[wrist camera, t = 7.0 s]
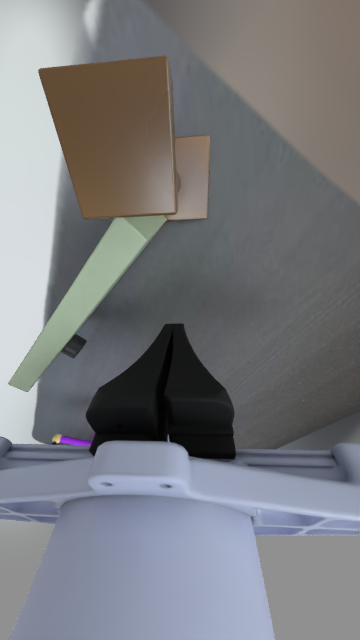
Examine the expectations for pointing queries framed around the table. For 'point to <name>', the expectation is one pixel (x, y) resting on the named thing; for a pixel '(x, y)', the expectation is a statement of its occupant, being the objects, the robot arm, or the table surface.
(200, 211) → the wooden stand
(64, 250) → the table surface
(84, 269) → the door
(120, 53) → the table surface
